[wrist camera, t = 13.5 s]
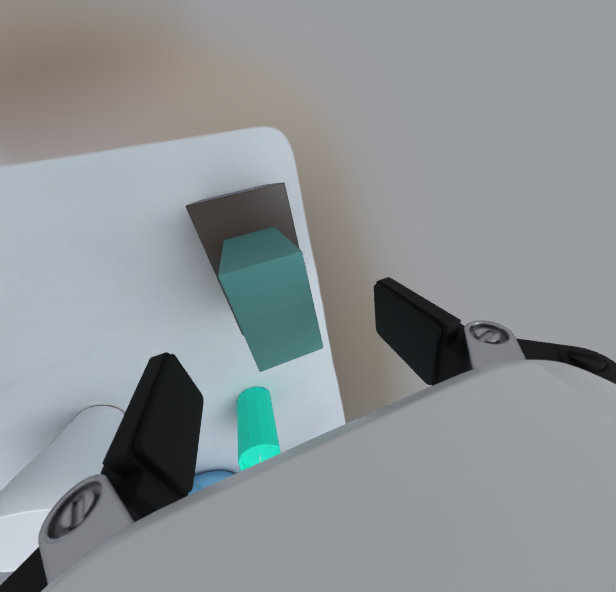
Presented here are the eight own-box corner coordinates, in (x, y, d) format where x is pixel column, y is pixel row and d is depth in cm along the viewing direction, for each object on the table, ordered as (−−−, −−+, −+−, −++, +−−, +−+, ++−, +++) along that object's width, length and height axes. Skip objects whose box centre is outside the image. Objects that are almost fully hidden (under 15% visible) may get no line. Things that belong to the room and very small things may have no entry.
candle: (247, 415, 42) (251, 489, 32) (230, 397, 39) (229, 472, 29) (275, 400, 43) (289, 467, 32) (261, 381, 40) (271, 449, 29)
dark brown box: (200, 200, 26) (185, 205, 17) (267, 184, 27) (284, 182, 18) (239, 296, 32) (242, 336, 23) (292, 279, 33) (313, 311, 25)
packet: (223, 240, 19) (217, 276, 11) (274, 226, 20) (302, 250, 12) (250, 308, 22) (259, 372, 15) (292, 294, 23) (323, 348, 15)
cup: (157, 424, 37) (122, 532, 25) (89, 452, 35) (19, 581, 24) (115, 382, 32) (48, 494, 20) (34, 414, 30) (-89, 554, 19)
